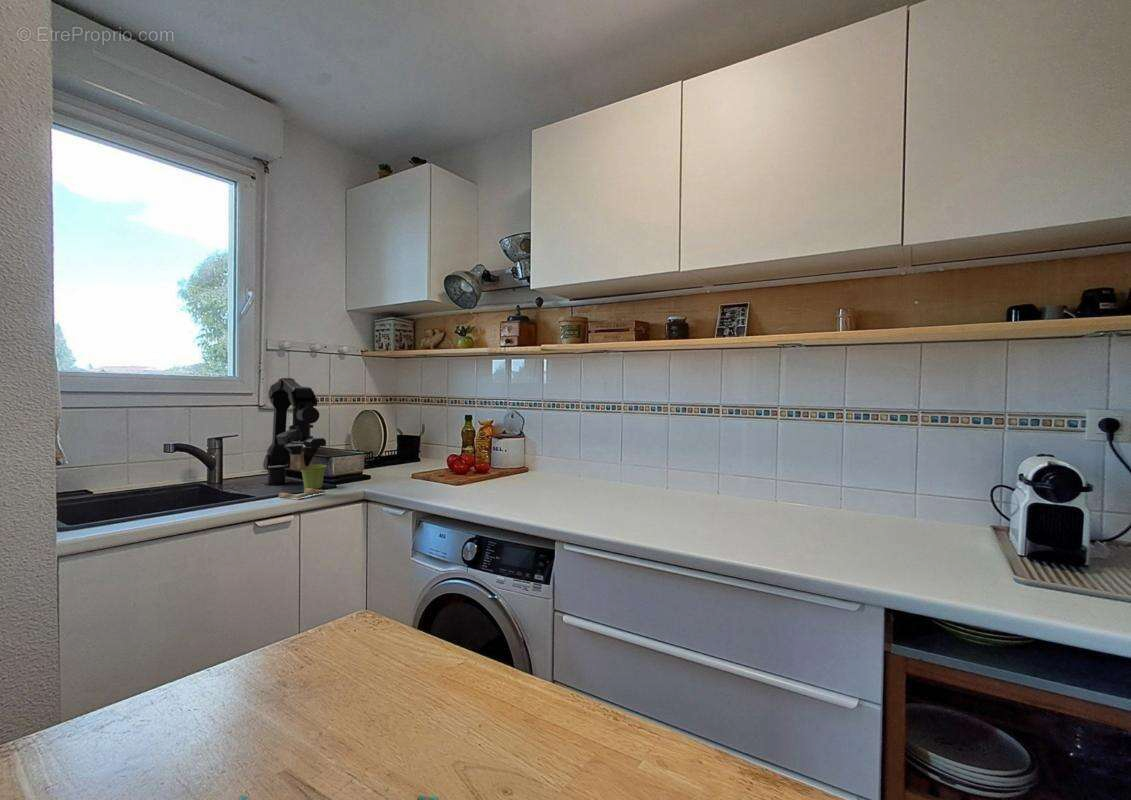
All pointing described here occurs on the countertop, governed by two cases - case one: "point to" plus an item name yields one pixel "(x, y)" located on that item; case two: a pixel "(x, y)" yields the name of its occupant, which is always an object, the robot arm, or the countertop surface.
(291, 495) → the oak bay
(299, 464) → the walnut cube
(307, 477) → the plant pot
